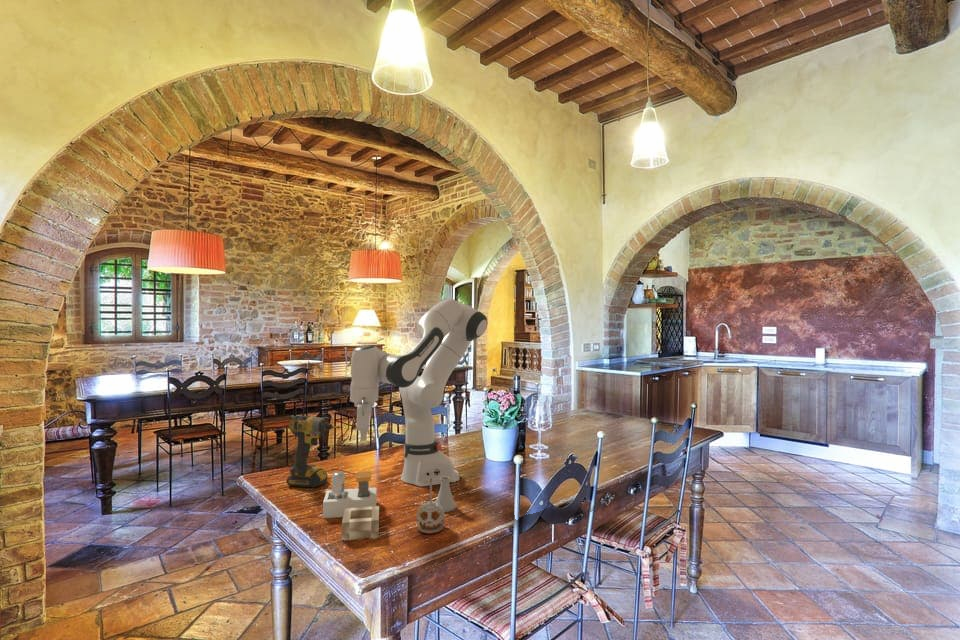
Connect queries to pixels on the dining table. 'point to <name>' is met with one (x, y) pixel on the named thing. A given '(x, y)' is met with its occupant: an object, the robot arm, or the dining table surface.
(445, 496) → the flask
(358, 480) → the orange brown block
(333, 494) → the grey metallic cylinder
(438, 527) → the decorative ornament
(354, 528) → the beige square holder
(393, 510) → the dining table surface
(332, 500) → the socket block
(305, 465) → the cordless drill
